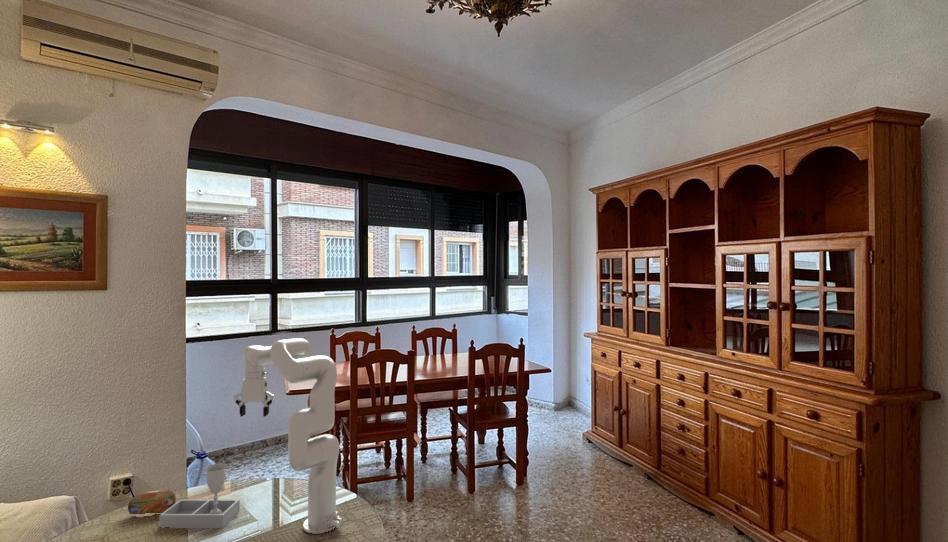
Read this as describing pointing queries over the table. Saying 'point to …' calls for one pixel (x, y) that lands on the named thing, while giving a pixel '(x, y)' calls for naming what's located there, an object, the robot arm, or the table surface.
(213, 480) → the chalice
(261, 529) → the table surface
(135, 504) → the tin
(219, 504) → the holder
